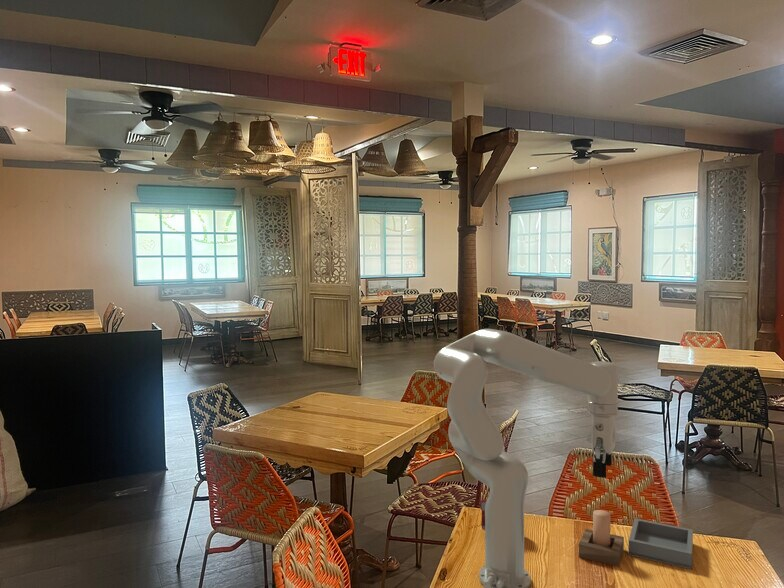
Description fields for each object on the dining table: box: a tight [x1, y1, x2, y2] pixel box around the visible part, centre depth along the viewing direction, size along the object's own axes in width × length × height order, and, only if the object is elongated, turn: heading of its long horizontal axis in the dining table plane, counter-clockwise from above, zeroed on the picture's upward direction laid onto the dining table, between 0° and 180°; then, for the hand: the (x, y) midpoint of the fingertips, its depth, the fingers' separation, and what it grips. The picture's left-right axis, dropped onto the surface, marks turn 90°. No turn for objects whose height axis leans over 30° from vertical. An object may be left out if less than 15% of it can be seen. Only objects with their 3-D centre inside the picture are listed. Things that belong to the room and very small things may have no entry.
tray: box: [627, 517, 694, 570], centre depth 151 cm, size 15×15×4 cm
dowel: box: [592, 509, 612, 548], centre depth 149 cm, size 4×4×11 cm
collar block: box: [578, 528, 625, 567], centre depth 149 cm, size 10×10×4 cm
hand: (602, 470), depth 148 cm, fingers open, 9 cm apart
